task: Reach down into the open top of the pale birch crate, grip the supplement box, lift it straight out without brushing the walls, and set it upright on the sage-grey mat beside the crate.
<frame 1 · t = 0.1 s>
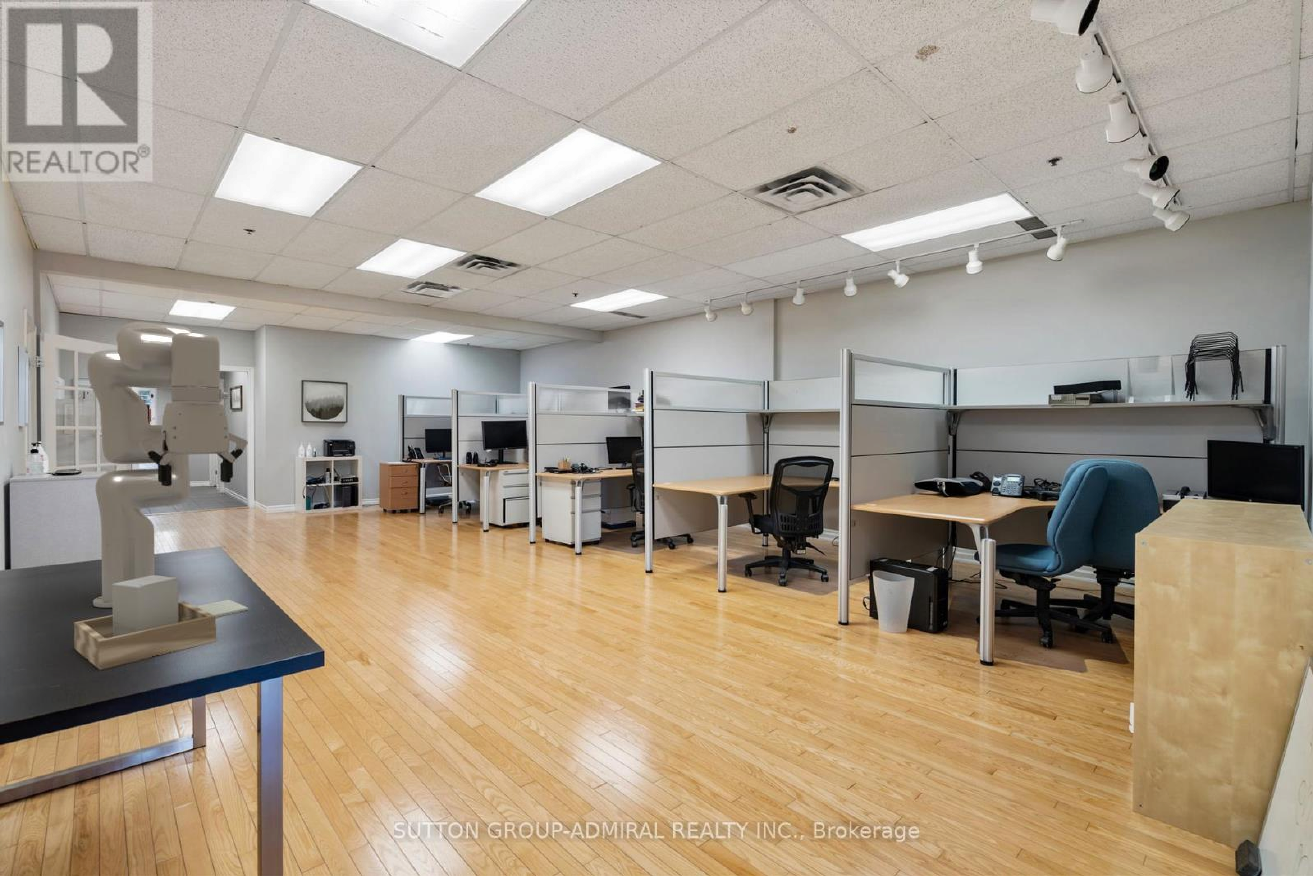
hand: (197, 483, 117), 31 cm above the table, tool pointing down, fingers open, 9 cm apart
supplement box: (146, 646, 114), resting in crate
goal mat: (210, 612, 135), on the table
crate: (146, 644, 114), on the table
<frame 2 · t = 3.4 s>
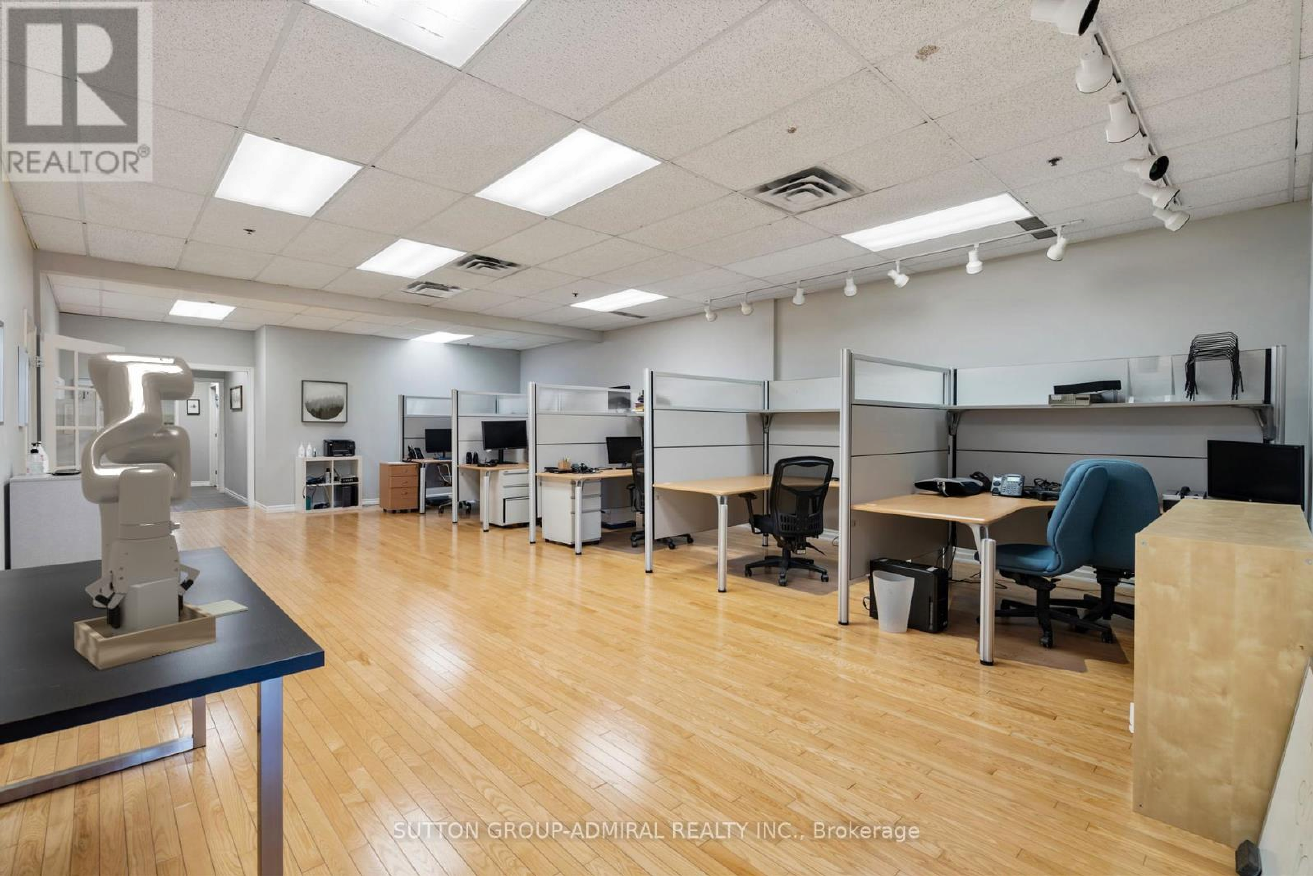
hand: (146, 620, 114), 5 cm above the table, tool pointing down, fingers closed on supplement box, 8 cm apart
supplement box: (146, 646, 114), resting in crate, touching gripper
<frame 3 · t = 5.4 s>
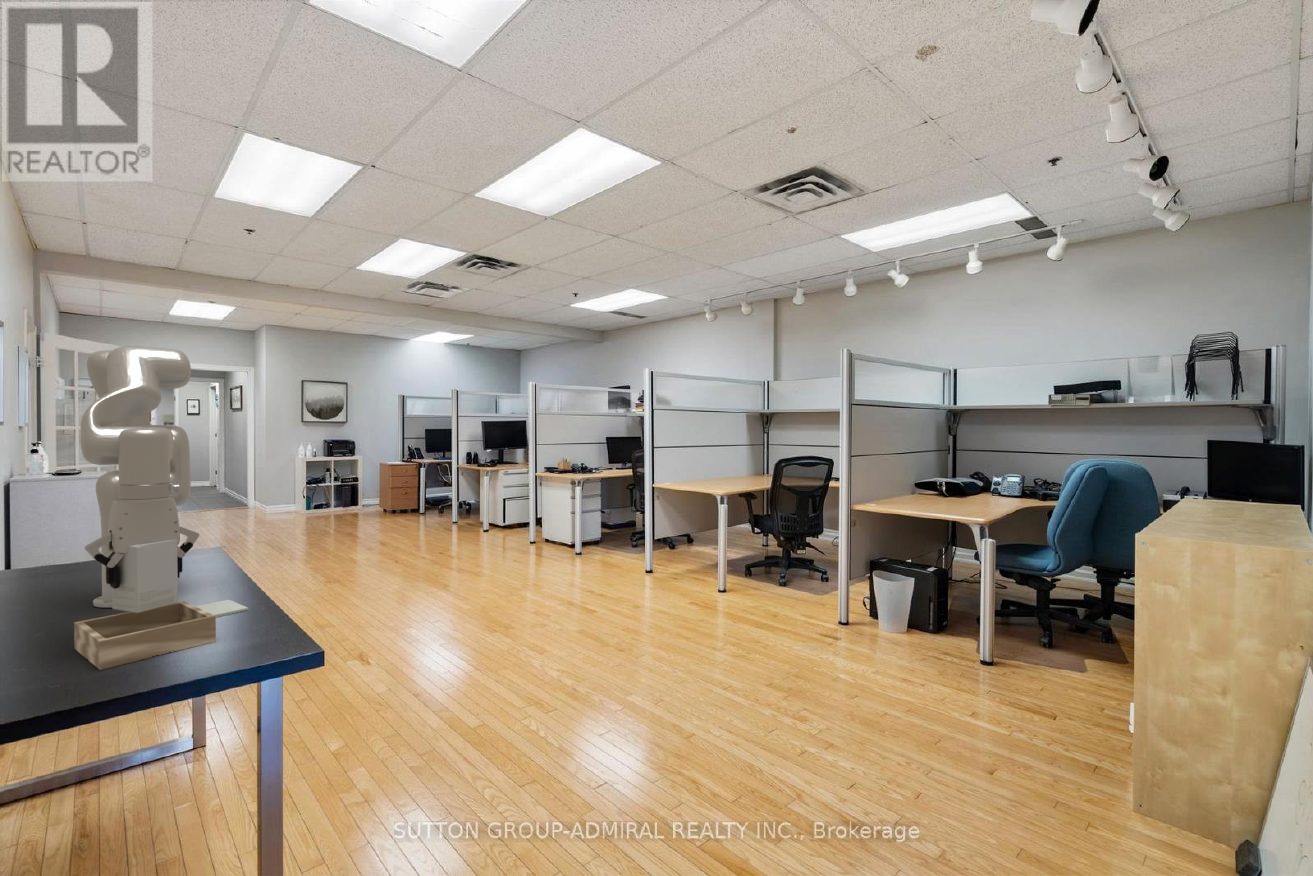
hand: (145, 581, 114), 12 cm above the table, tool pointing down, fingers closed on supplement box, 8 cm apart
supplement box: (145, 606, 115), point 7 cm above the table, touching gripper
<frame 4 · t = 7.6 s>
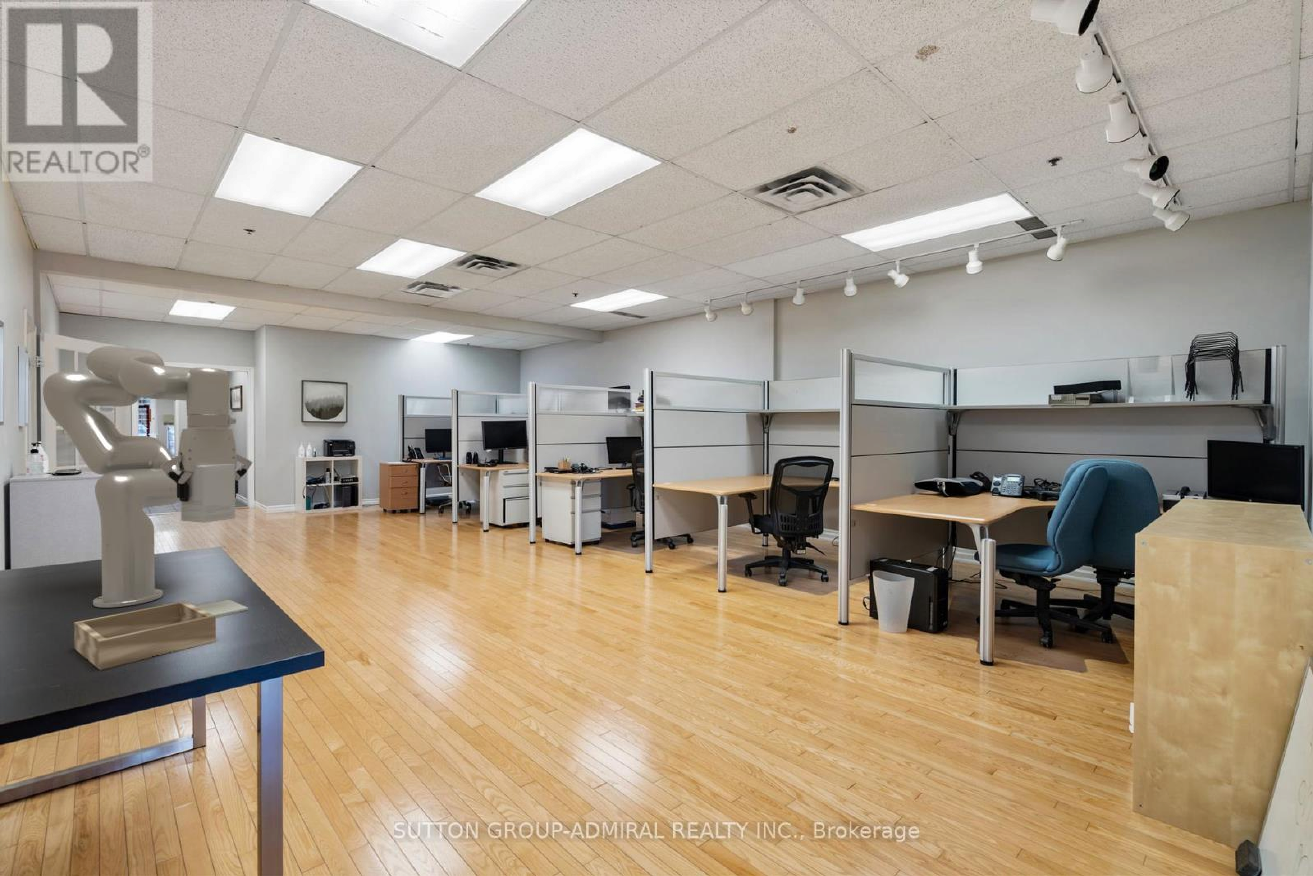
hand: (208, 499, 134), 26 cm above the table, tool pointing down, fingers closed on supplement box, 8 cm apart
supplement box: (208, 520, 134), point 21 cm above the table, touching gripper
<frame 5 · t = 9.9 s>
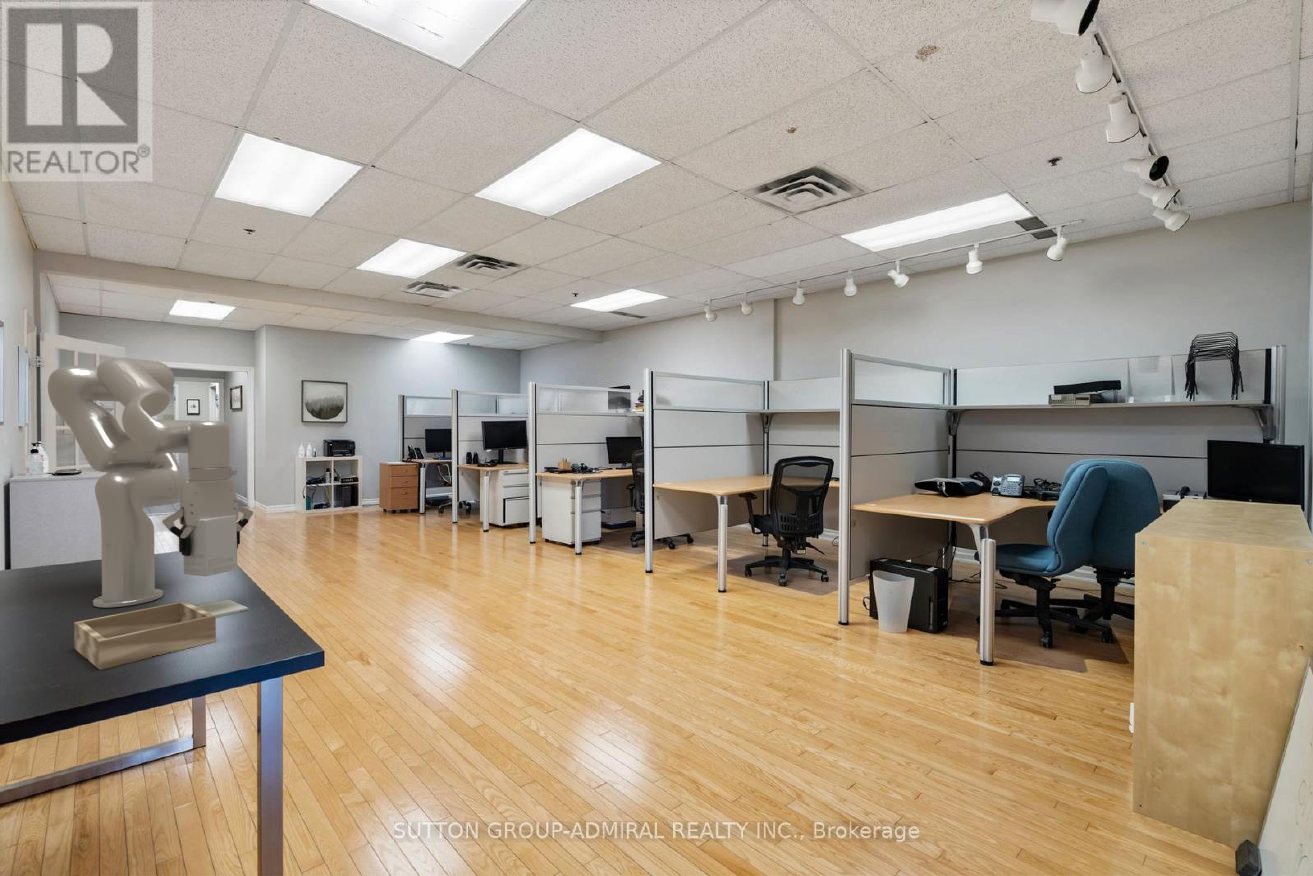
hand: (210, 551, 134), 14 cm above the table, tool pointing down, fingers closed on supplement box, 8 cm apart
supplement box: (210, 573, 134), point 9 cm above the table, touching gripper
when the fingers open (6 cm above the table, at t = 12.0 s): supplement box drops 1 cm, resting on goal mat.
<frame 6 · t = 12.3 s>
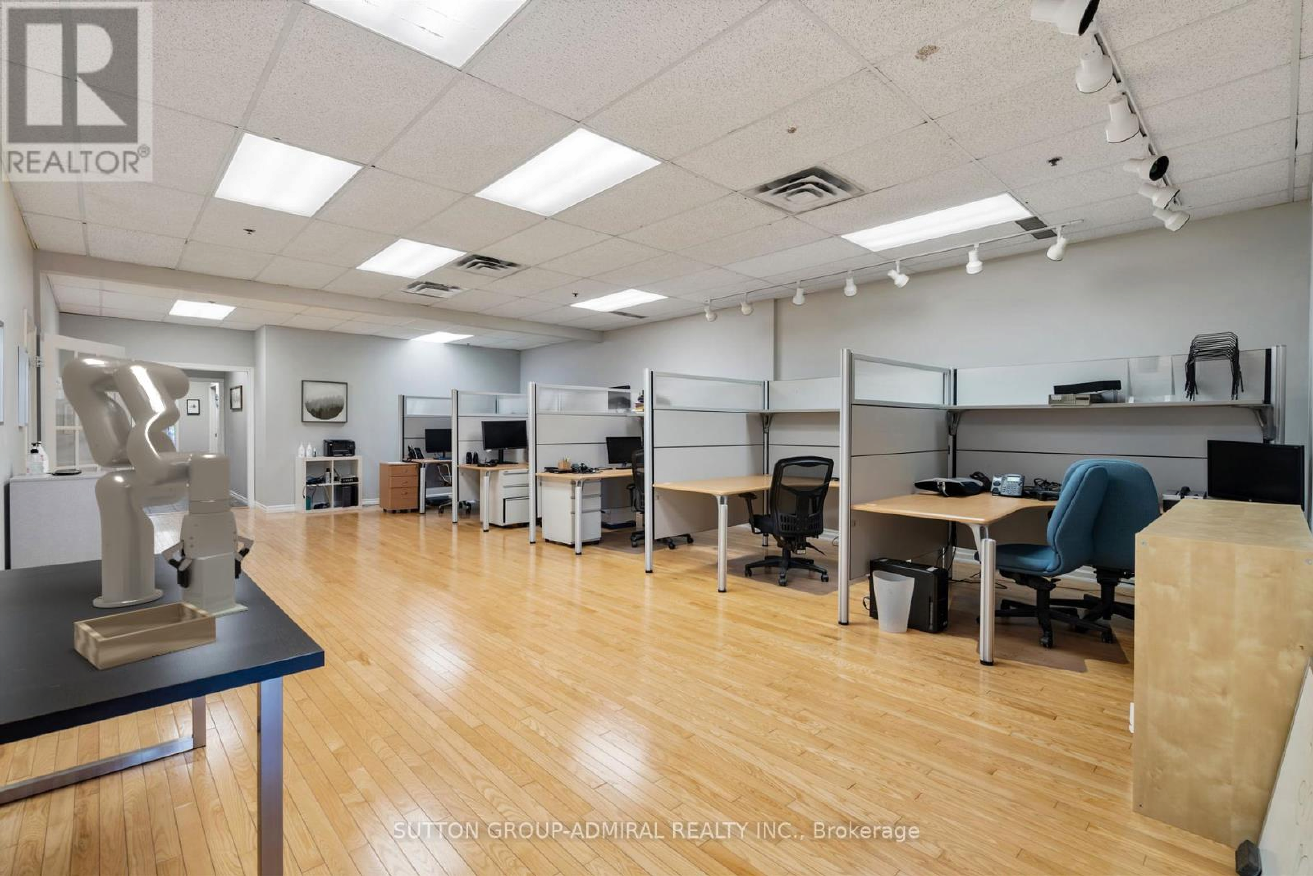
hand: (210, 582, 135), 7 cm above the table, tool pointing down, fingers open, 9 cm apart
supplement box: (209, 610, 135), resting on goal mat
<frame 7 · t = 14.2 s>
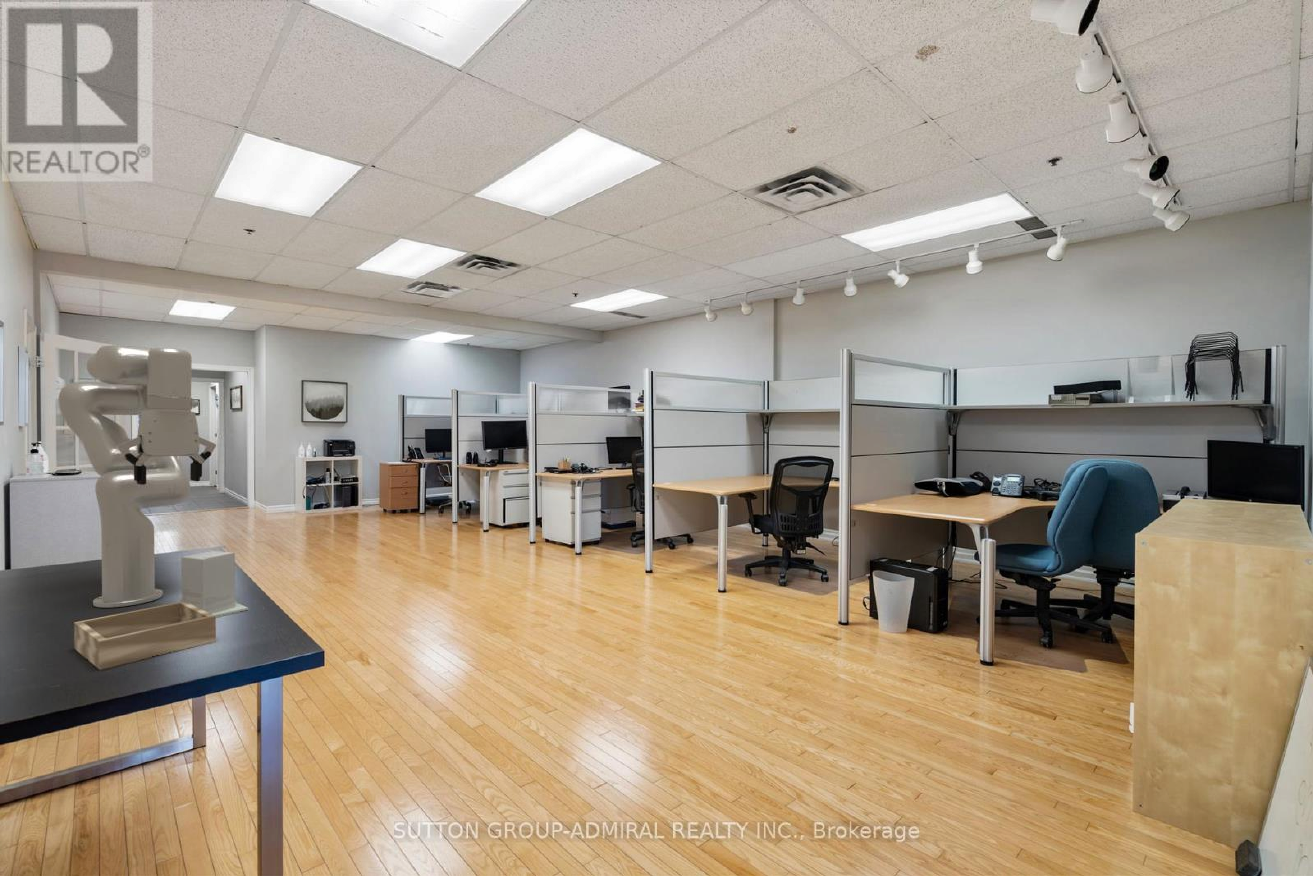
hand: (169, 482, 131), 30 cm above the table, tool pointing down, fingers open, 9 cm apart
nothing on the table moved.
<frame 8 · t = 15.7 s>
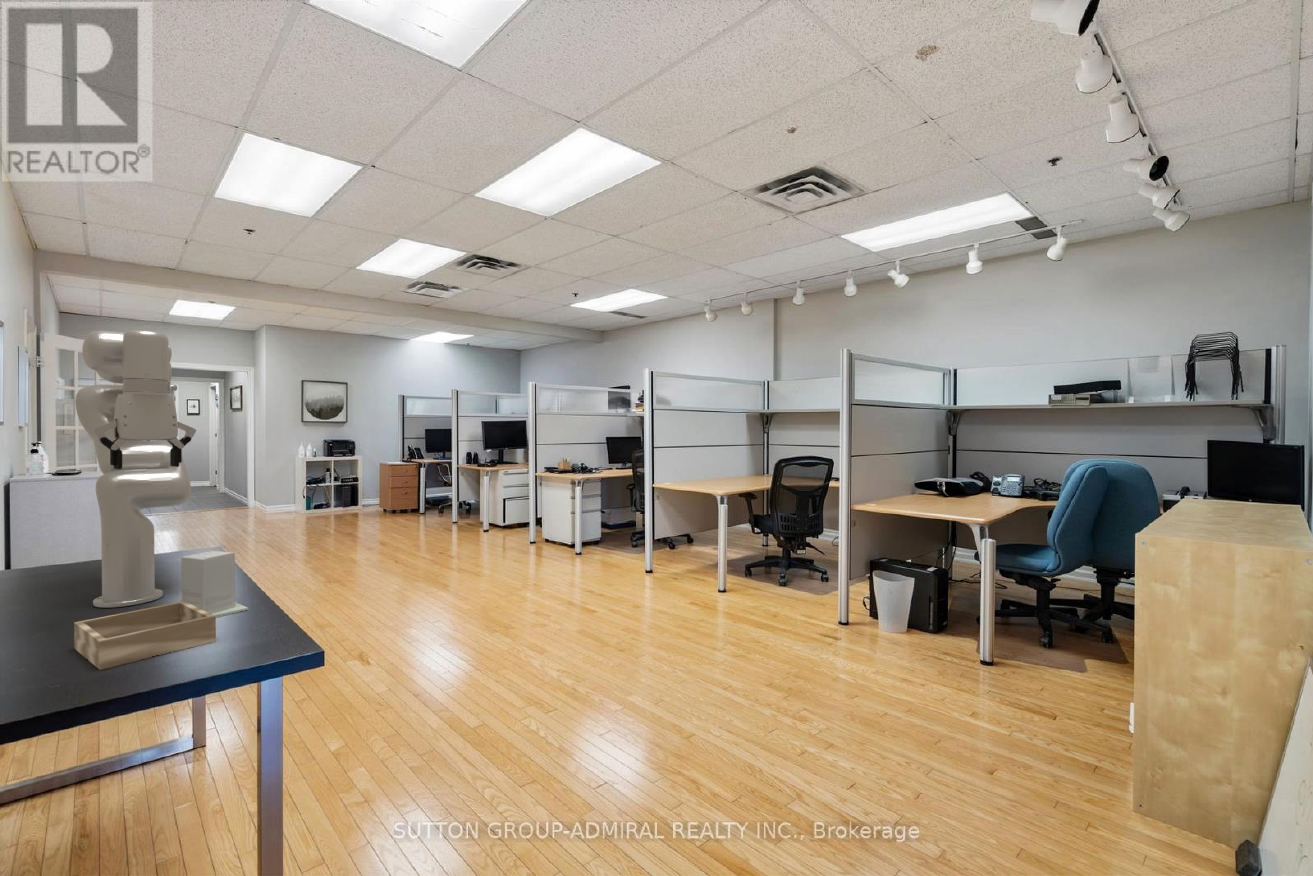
hand: (147, 467, 128), 33 cm above the table, tool pointing down, fingers open, 9 cm apart
nothing on the table moved.
at the end: supplement box inside the target area on the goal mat (0.2 cm from its centre), point 0.4 cm above the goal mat's base; supplement box tilted 0°; the gripper is holding nothing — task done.
